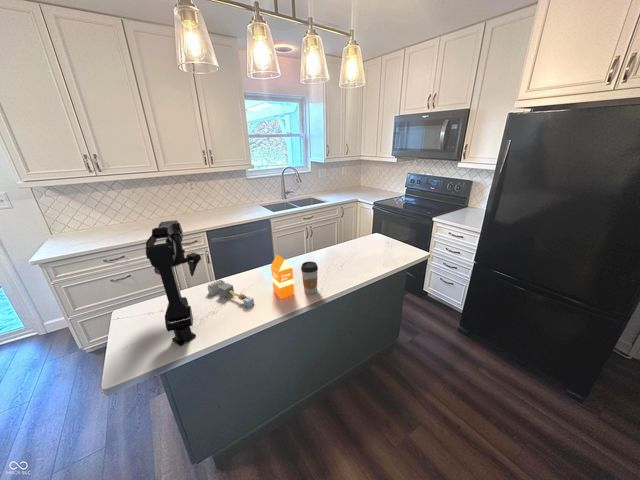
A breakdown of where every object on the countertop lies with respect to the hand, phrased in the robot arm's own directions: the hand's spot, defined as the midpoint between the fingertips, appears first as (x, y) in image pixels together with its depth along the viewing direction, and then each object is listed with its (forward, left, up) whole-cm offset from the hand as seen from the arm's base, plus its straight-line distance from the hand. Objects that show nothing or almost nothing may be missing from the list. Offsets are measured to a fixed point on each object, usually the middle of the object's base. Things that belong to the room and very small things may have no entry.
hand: (182, 280), depth 118 cm
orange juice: (-32, -32, -14) cm, 47 cm away
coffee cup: (-43, -40, -14) cm, 60 cm away
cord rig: (-13, -15, -13) cm, 24 cm away
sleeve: (-9, -15, -12) cm, 21 cm away
